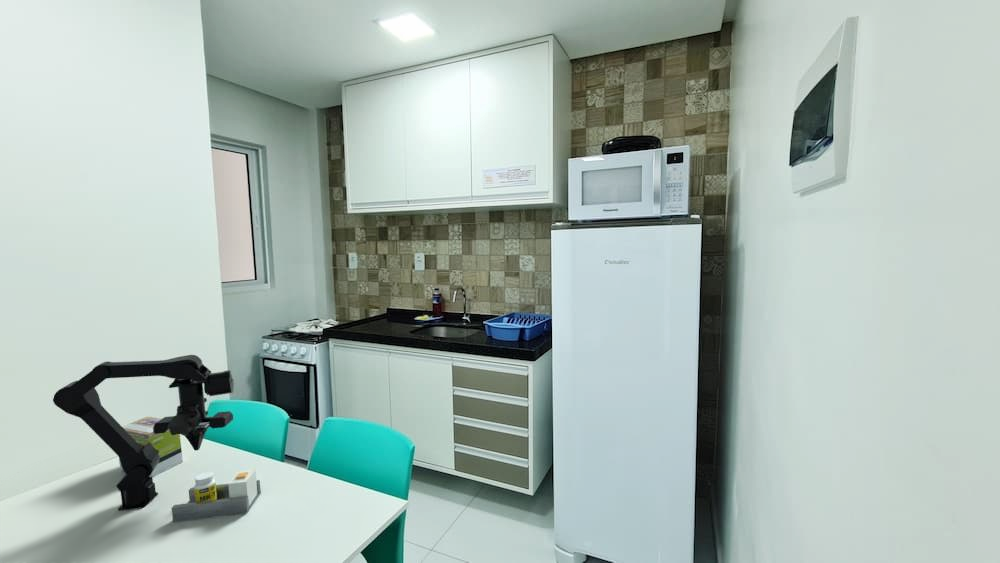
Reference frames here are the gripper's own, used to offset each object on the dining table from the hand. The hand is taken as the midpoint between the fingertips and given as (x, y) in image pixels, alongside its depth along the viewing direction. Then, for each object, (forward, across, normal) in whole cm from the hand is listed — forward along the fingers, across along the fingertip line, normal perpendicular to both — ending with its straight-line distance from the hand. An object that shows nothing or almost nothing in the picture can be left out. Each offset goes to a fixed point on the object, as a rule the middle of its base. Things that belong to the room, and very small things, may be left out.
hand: (197, 449), depth 122 cm
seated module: (+12, +16, -11) cm, 23 cm away
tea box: (+12, -23, +17) cm, 31 cm away
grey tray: (+12, +10, -11) cm, 19 cm away
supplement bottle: (+11, +7, -11) cm, 17 cm away
